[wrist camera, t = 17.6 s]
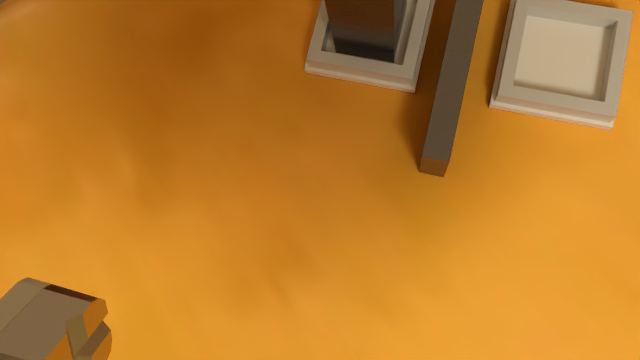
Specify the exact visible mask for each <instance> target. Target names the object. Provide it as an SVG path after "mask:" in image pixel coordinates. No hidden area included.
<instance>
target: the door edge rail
mask: <svg viewBox="0 0 640 360" xmlns="http://www.w3.org/2000/svg"><path fill="white" fill-rule="evenodd" d="M482 5H483V0H456V4H455V8H454V13H453V17H452V22H451V26H450V31H449V35H448V40H447V44H446V49H445V54H444V58H443V63H442V67H441V72H440V76H439V81H438V85H437V90H436V94H435V99H434V103H433V108H432V113H431V117H430V122H429V126H428V131H427V135H426V140H425V144H424V149H423V153H422V158H421V164H420V169H419V172H422V173H427V174H432V175H436V176H441V177H444V175H445V172H446V169H447V167H448V164H449V161H450V156H451V151H452V147H453V142H454V137H455V132H456V128H457V123H458V118H459V113H460V109H461V104H462V99H463V95H464V90H465V85H466V80H467V76H468V71H469V66H470V61H471V57H472V52H473V47H474V42H475V38H476V33H477V28H478V23H479V19H480V14H481V9H482Z"/></svg>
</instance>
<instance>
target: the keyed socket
mask: <svg viewBox="0 0 640 360" xmlns="http://www.w3.org/2000/svg"><path fill="white" fill-rule="evenodd" d="M435 1H436V0H407V9H406V13H405V17H404V22H403V26H402V30H401V35H400V39H399V43H398V47H397V52H396V56H395V60H394V63H393V62H387V61H381V60H376V59H370V58H365V57H359V56H353V55H348V54H342V53H336V50H335V46H334V41H333V37H332V32H331V28H330V23H329V19H328V14H327V10H326V5H325V1H324V0H322V1H321V5H320V8H319V12H318V16H317V20H316V23H315V27H314V31H313V35H312V39H311V42H310V46H309V50H308V54H307V57H306V64H305V68H304V71H305V73H309V74H314V75H320V76H325V77H330V78H336V79H341V80H346V81H352V82H357V83H362V84H367V85H373V86H378V87H383V88H389V89H394V90H399V91H404V92H410V93H415V89H416V84H417V80H418V76H419V71H420V67H421V62H422V58H423V54H424V49H425V45H426V40H427V36H428V32H429V27H430V23H431V18H432V14H433V10H434V5H435Z"/></svg>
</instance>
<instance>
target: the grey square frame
mask: <svg viewBox="0 0 640 360" xmlns="http://www.w3.org/2000/svg"><path fill="white" fill-rule="evenodd" d="M632 17H633V11H631V10H624V9H618V8H611V7H605V6H599V5H592V4H586V3H579V2H573V1H567V0H511V1H510V4H509V9H508V14H507V19H506V24H505V28H504V33H503V38H502V43H501V48H500V53H499V58H498V63H497V68H496V73H495V78H494V83H493V88H492V93H491V98H490V103H489V108H494V109H500V110H505V111H510V112H516V113H521V114H526V115H532V116H537V117H542V118H547V119H553V120H558V121H563V122H569V123H574V124H579V125H585V126H590V127H595V128H600V129H606V130H611V129H612V128H613V125H614V119H615V118H616V117H617V111H618V104H619V98H620V92H621V86H622V79H623V73H624V67H625V61H626V55H627V48H628V42H629V36H630V30H631V23H632Z"/></svg>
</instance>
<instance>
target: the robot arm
mask: <svg viewBox="0 0 640 360" xmlns="http://www.w3.org/2000/svg"><path fill="white" fill-rule="evenodd" d="M107 314H108V311H107V306H106V302H105V300H103V299H100V298H96V297H93V296H90V295H86V294H83V293H80V292H76V291H73V290H70V289H66V288H63V287H60V286H56V285H53V284H50V283H46V282H42V281H39V280H35V279H32V278H25V279H23V280H21V281H19V282H17V283H16V284H15V285H14V286H13V287H12V288H11V289H10V290H9V291H8V292H7V293H6V294H5V295H4V296H3V297H2V298H1V299H0V360H107V359H108V357H109V354H110V351H111V344H112V335H111V330H110V329H109V327H108V326H107V325H106V324H105V323H104V321H103V319H104V318H105V316H106V315H107Z"/></svg>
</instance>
